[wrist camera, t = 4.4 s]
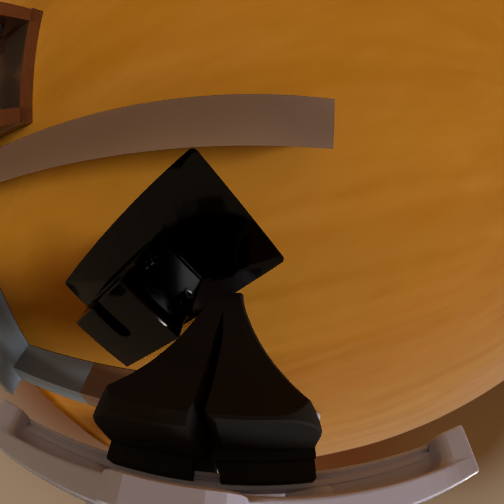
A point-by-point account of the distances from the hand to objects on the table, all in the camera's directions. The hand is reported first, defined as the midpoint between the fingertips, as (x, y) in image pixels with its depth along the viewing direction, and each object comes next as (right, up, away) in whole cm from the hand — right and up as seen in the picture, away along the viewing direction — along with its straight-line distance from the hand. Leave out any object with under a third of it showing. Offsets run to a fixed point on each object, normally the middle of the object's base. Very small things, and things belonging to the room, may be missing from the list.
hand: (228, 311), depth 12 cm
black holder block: (-4, +2, +1) cm, 4 cm away
